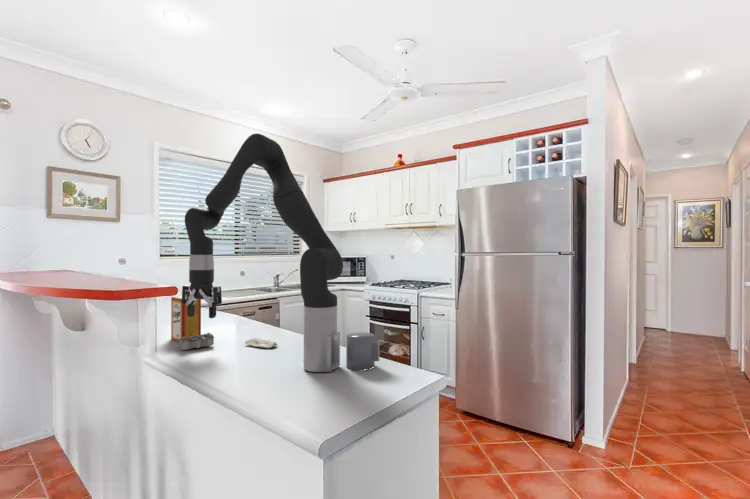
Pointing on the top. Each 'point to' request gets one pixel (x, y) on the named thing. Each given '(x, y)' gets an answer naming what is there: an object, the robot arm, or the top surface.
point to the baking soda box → (184, 319)
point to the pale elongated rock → (261, 342)
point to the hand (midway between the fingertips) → (201, 317)
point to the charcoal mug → (361, 351)
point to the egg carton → (196, 341)
